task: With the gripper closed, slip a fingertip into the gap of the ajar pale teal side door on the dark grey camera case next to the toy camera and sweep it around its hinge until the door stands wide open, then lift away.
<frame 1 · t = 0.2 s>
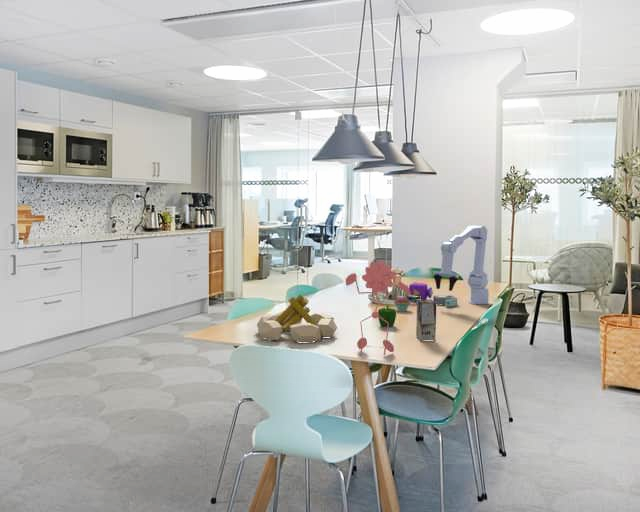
hand: (444, 289, 319), 10 cm above the table, tool pointing down, fingers open, 7 cm apart
figurine: (377, 352, 229), on the table
side door: (452, 302, 327), point 2 cm above the table, hinge at 40.0°
camera case: (444, 303, 336), on the table
bell pepper: (387, 326, 276), on the table
cupcake: (401, 310, 314), on the table
campfire: (296, 335, 257), on the table
toy camera: (420, 300, 347), on the table
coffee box: (425, 339, 251), on the table
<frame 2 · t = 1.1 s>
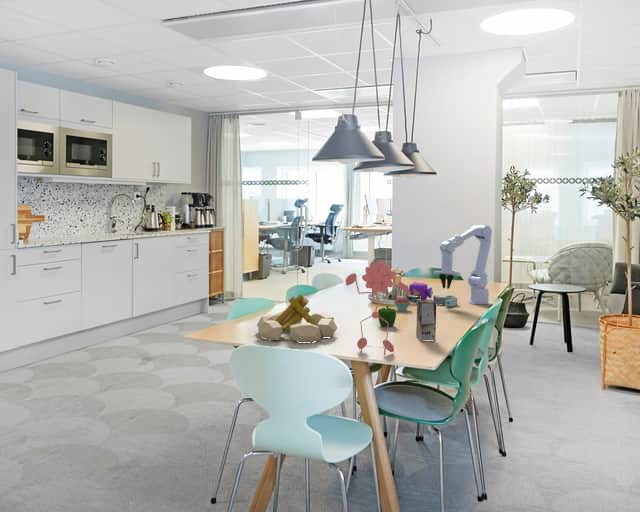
hand: (446, 288, 327), 10 cm above the table, tool pointing down, fingers closed
nothing on the table moved.
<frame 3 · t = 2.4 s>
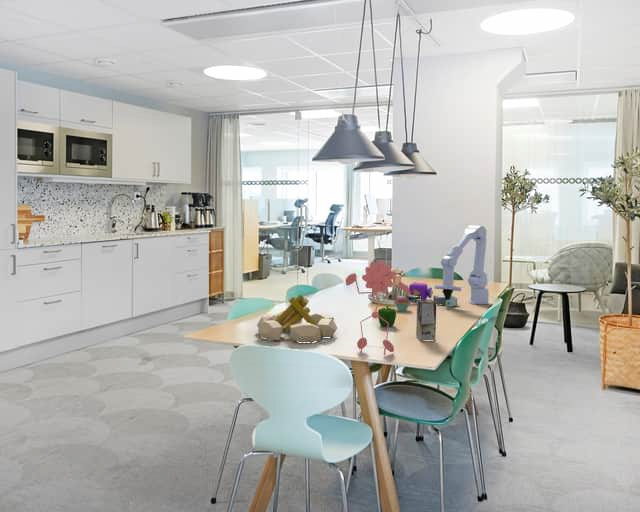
hand: (447, 302, 327), 2 cm above the table, tool pointing down, fingers closed
side door: (452, 302, 327), point 2 cm above the table, hinge at 41.3°, touching gripper
everything else where it was.
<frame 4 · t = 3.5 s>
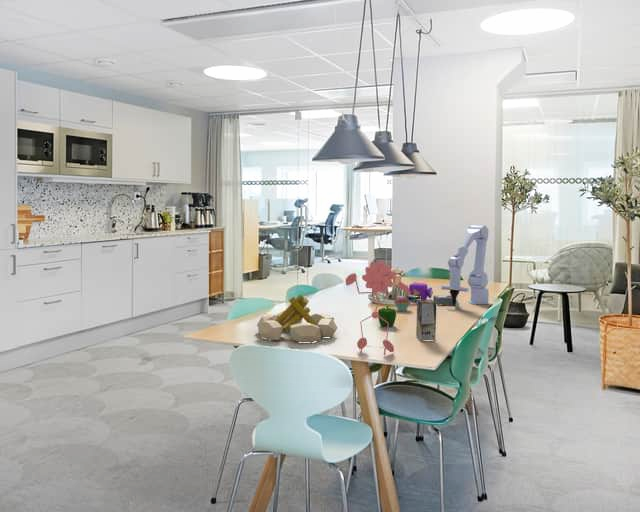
hand: (454, 303, 325), 2 cm above the table, tool pointing down, fingers closed, pressing on side door
side door: (457, 303, 326), point 2 cm above the table, hinge at 75.6°, touching gripper
everything else where it was.
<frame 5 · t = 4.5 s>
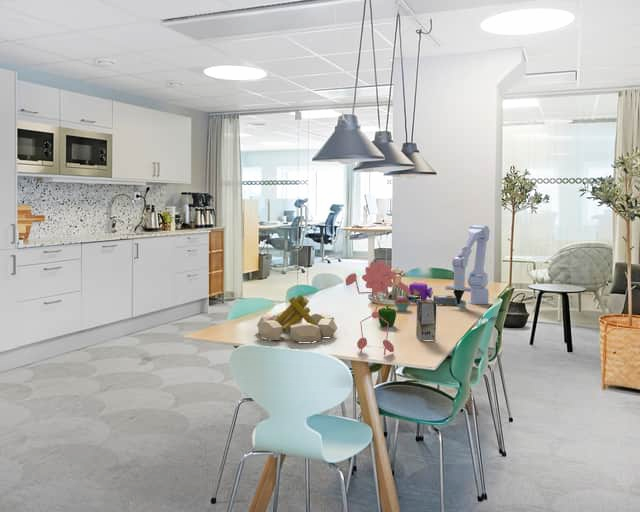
hand: (458, 303, 324), 2 cm above the table, tool pointing down, fingers closed
side door: (461, 303, 326), point 2 cm above the table, hinge at 101.6°, touching gripper
everything else where it was.
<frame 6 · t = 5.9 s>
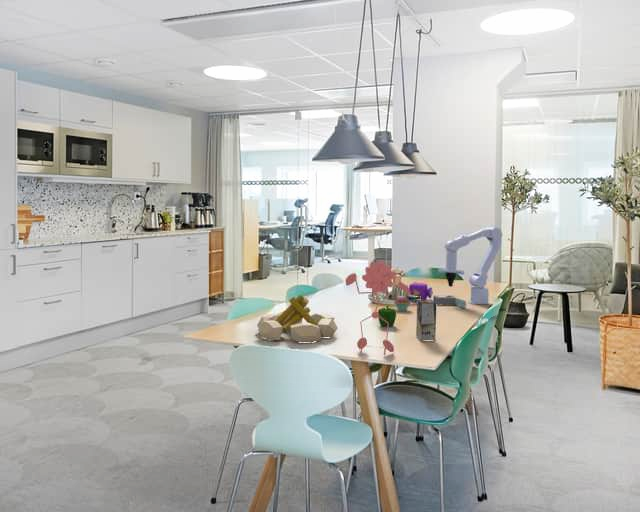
hand: (450, 286, 335), 10 cm above the table, tool pointing down, fingers closed
side door: (461, 303, 326), point 2 cm above the table, hinge at 102.0°
everything else where it was.
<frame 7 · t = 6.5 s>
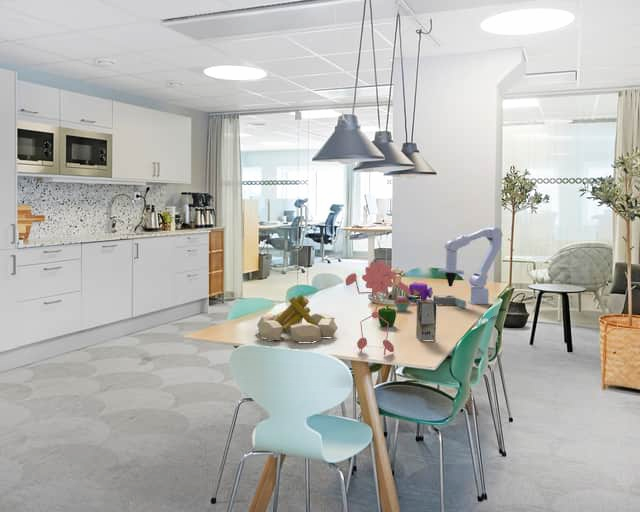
hand: (450, 286, 335), 10 cm above the table, tool pointing down, fingers closed
nothing on the table moved.
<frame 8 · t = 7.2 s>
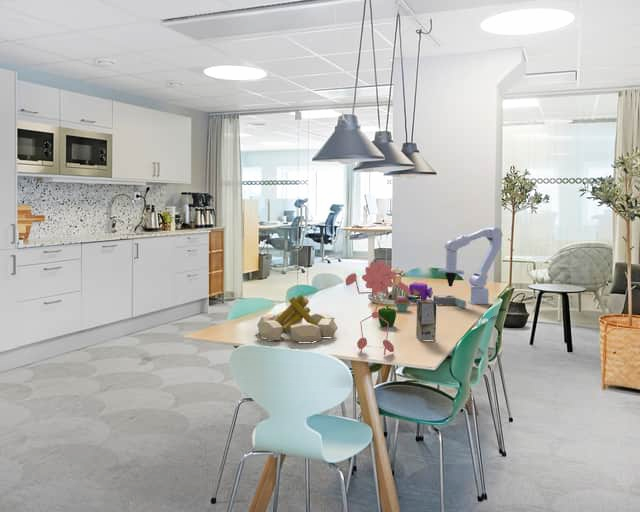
hand: (450, 286, 335), 10 cm above the table, tool pointing down, fingers closed
nothing on the table moved.
at the end: side door at +102° (first picture: +40°) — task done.
